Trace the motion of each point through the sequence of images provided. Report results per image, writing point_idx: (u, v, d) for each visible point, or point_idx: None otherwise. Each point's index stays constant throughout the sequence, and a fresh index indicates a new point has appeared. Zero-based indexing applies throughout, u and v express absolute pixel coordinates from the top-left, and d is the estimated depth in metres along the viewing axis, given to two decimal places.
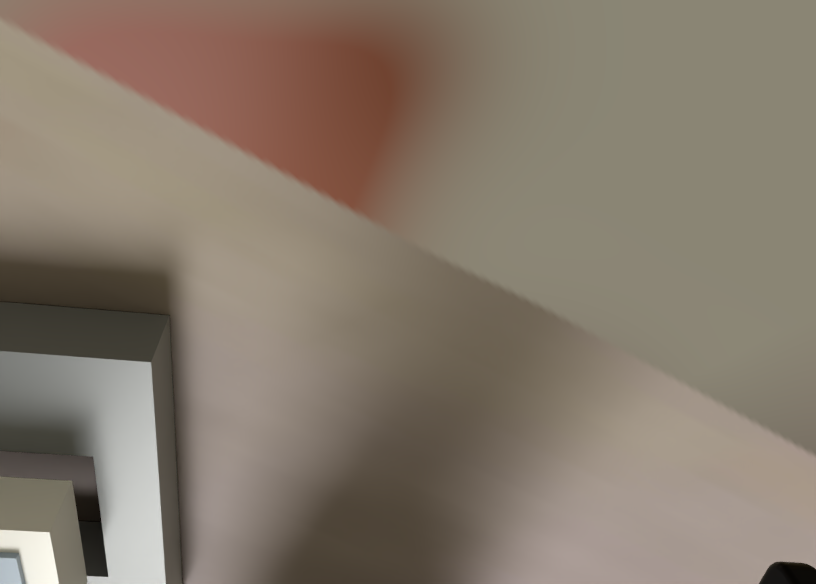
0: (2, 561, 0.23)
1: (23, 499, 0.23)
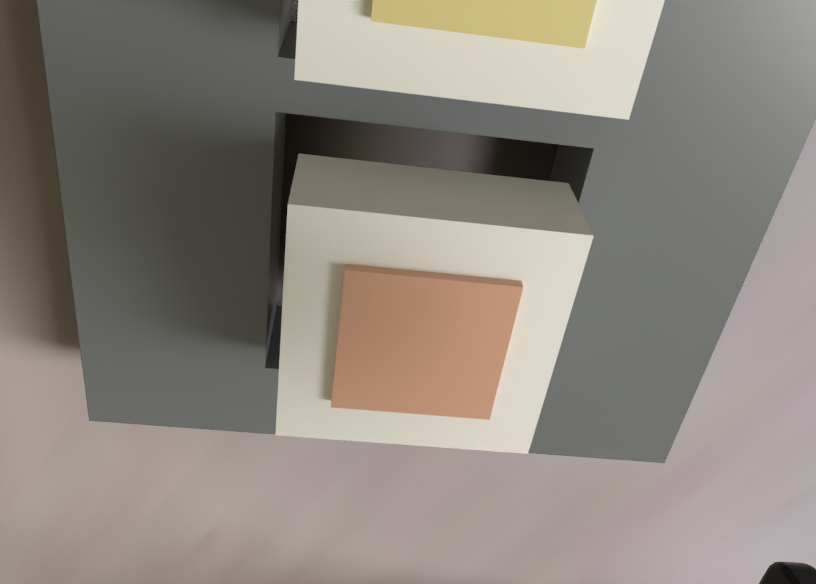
0: None
1: None
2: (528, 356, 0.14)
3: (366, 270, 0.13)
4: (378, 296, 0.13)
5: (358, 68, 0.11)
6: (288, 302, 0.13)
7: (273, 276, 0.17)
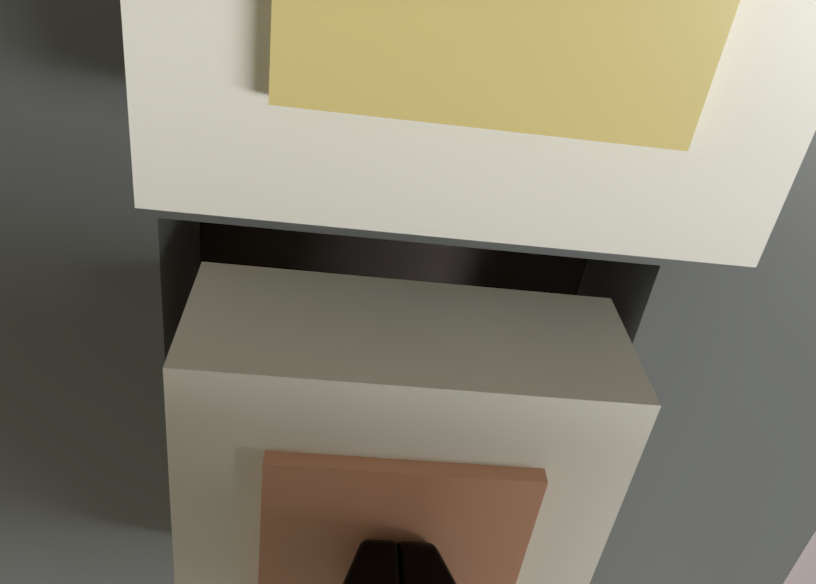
0: None
1: None
2: (553, 564, 0.09)
3: (298, 461, 0.08)
4: (318, 498, 0.08)
5: (255, 187, 0.06)
6: (180, 502, 0.08)
7: None
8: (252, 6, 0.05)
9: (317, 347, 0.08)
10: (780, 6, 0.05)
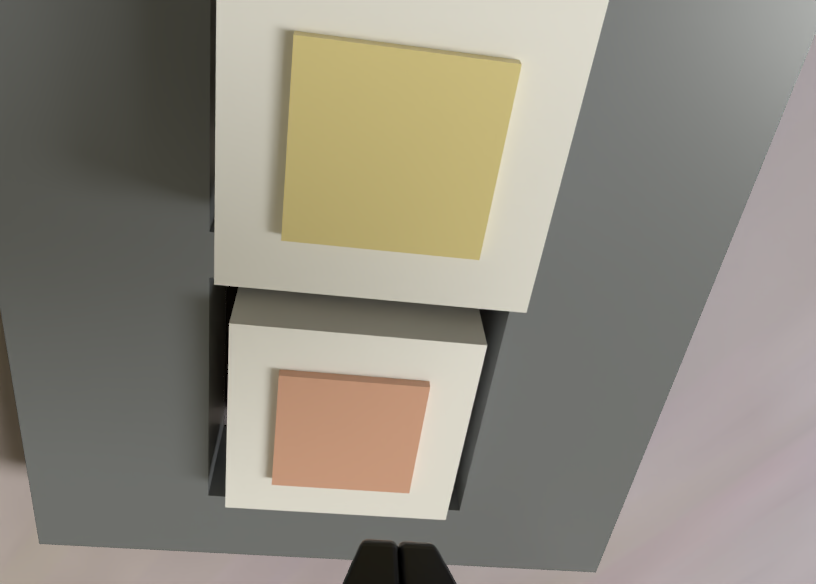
0: None
1: None
2: (440, 440, 0.16)
3: (297, 375, 0.15)
4: (308, 395, 0.15)
5: (273, 275, 0.12)
6: (232, 399, 0.16)
7: (216, 407, 0.18)
8: (274, 197, 0.11)
9: (307, 314, 0.15)
10: (515, 197, 0.11)
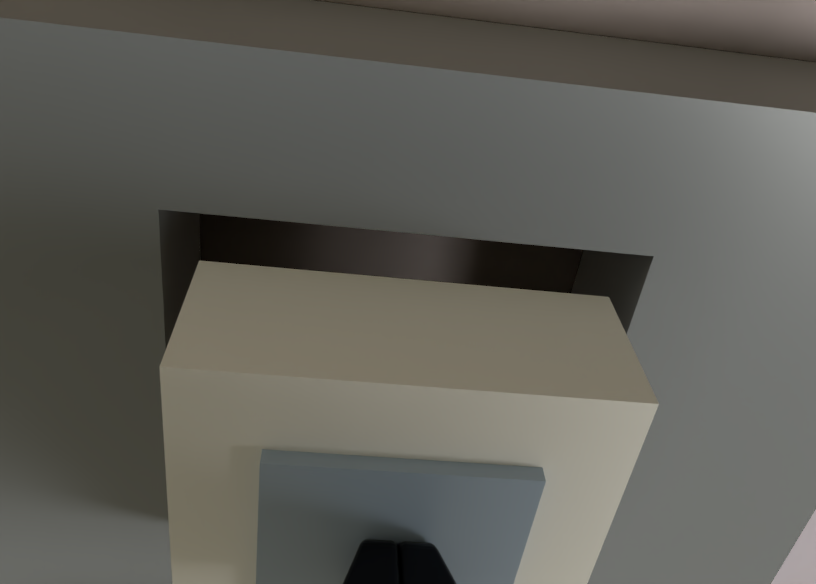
0: (276, 493, 0.08)
1: None
2: None
3: None
4: None
5: None
6: None
7: None
8: None
9: None
10: None
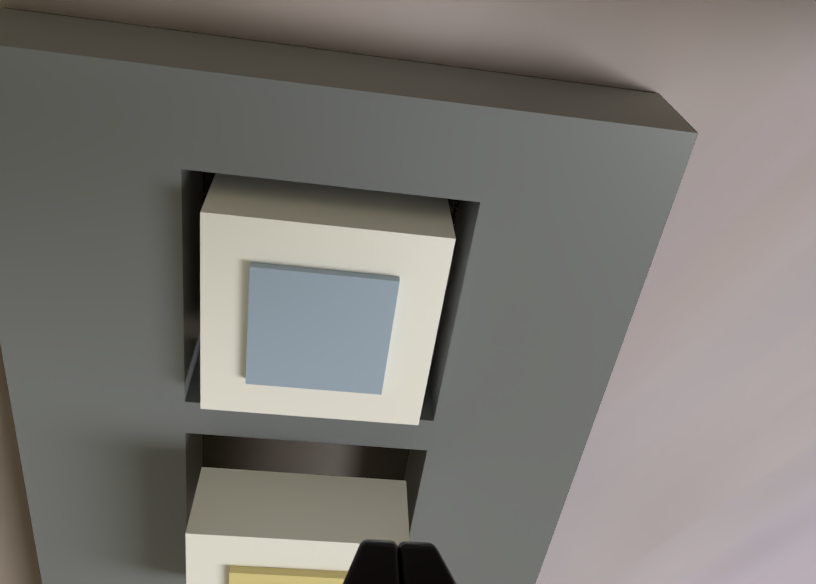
0: (258, 286, 0.15)
1: None
2: None
3: None
4: None
5: None
6: None
7: None
8: None
9: None
10: None
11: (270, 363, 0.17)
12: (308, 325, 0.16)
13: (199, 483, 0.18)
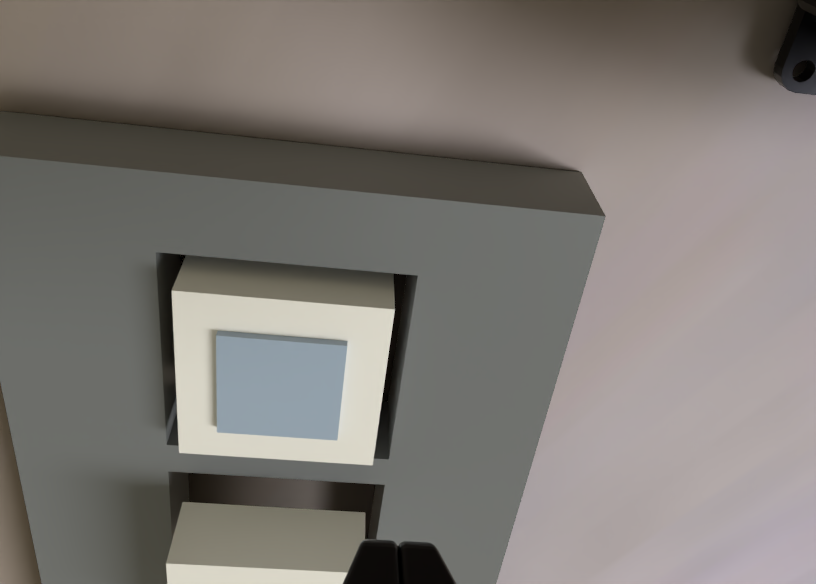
0: (224, 351, 0.18)
1: None
2: None
3: None
4: None
5: None
6: None
7: None
8: None
9: None
10: None
11: (238, 415, 0.19)
12: (269, 383, 0.18)
13: (180, 517, 0.21)
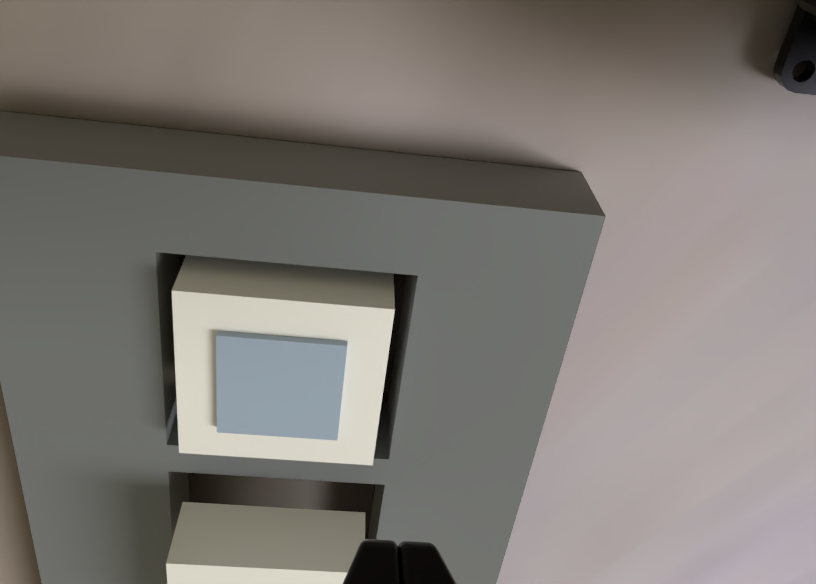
0: (224, 351, 0.18)
1: None
2: None
3: None
4: None
5: None
6: None
7: None
8: None
9: None
10: None
11: (238, 415, 0.19)
12: (269, 383, 0.18)
13: (180, 517, 0.21)
